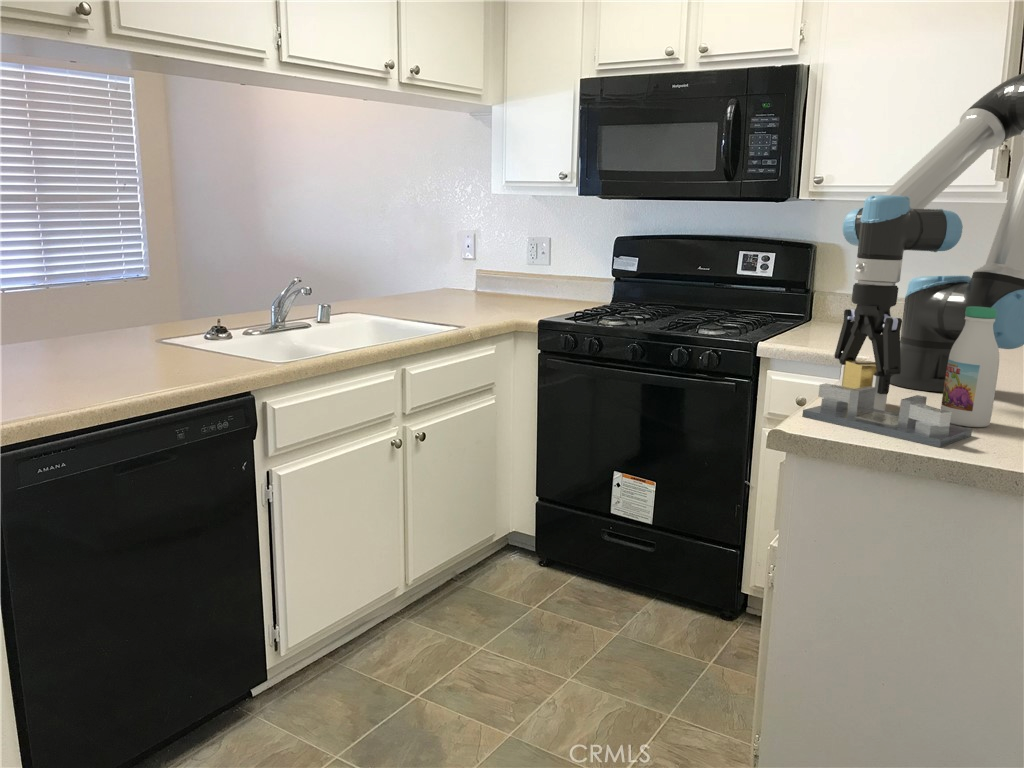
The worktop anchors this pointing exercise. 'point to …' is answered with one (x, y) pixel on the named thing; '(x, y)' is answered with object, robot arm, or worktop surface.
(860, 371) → the yellow block
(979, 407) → the milk bottle
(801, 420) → the worktop surface
